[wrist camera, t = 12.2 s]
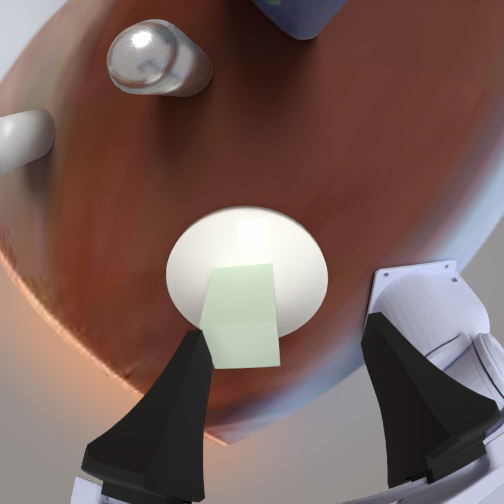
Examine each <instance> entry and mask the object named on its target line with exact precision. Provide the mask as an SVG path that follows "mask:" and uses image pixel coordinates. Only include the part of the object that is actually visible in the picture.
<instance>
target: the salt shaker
mask: <svg viewBox="0 0 504 504" xmlns="http://www.w3.org/2000/svg"><path fill="white" fill-rule="evenodd" d="M107 67H108V70H109V74H110V77H111V79H112V81H113V82H114V84H115V85H116V86H117V87H118V88H120V89H121V90H123V91H125V92H128V93H132V94H149V95H165V96H178V97H189V96H193V95H196V94H198V93H200V92H201V91H203V90H204V89H205V88H206V87H207V86H208V84H209V83H210V81H211V79H212V77H213V72H214V67H213V63H212V60H211V58H210V57H209V56H208V55H207V54H206V53H205V52H204V51H203V50H202V49H201V48H200V47H199V46H198V45H196V44H195V43H194V42H193V41H192V40H191V39H190V38H188V37H187V36H186V35H185V34H184V33H183V32H181V31H180V30H179V29H178V28H177V27H175V26H174V25H173V24H171V23H169V22H167V21H164V20H157V19H153V20H146V21H142V22H139V23H137V24H135V25H133V26H131V27H129V28H127V29H125V30H124V31H123V32H121V33H120V34H119V35H118V36H117V37H116V39H115V40H114V41H113V43H112V44H111V46H110V49H109V52H108V56H107Z"/></svg>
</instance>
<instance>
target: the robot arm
mask: <svg viewBox="0 0 504 504" xmlns="http://www.w3.org/2000/svg"><path fill="white" fill-rule="evenodd" d="M456 266H457V262H456V261H455V260H447V261H440V262H432V263H425V264H417V265H409V266H401V267H393V268H385V269H379V270H377V271H376V272H375V275H374V281H373V286H372V291H371V297H370V302H369V307H368V311H367V316H366V320H365V325H364V329H363V332H364V334H363V337H362V341H361V346H362V351H363V356H364V360H365V364H366V367H367V369H368V373H369V375H370V379H371V382H372V384H373V387H374V390H375V393H376V396H377V399H378V402H379V406H380V410H381V415H382V420H383V426H384V433H385V440H386V450H387V466H388V467H387V468H388V486H389V489H390V488H393V487H396V486H399V485H402V484H405V483H408V482H410V481H411V482H412V483H409V484H406V485H403V486H401V487H398V488H395V489H392V490H389V491H386V492H382V493H379V494H376V495H372V496H368V497H365V498H361V499H357V500H352V501H348V502H343V503H338V504H389V503H392V502H394V501H398V500H399V501H398V502H397V503H396V504H504V349H503V348H502V347H501V345H500V344H499V343H498V342H497V340H496V339H495V338H494V337H493V336H492V335H491V334H489V333H490V324H489V318H488V314H487V311H486V309H485V307H484V306H483V304H482V303H481V301H480V300H479V299H478V297H477V296H476V295H475V294H474V292H473V291H472V290H471V289H470V287H469V286H468V285H467V284H466V282H465V281H464V280H463V279H462V278H461V276H460V275H459V274H458V273H457V272H456V271H455V269H456ZM385 273H387V274H386V275H384V274H385ZM211 375H212V356H211V354H210V351H209V348H208V345H207V343H206V340H205V337H204V334H203V331H202V330H189V331H188V332H187V333H186V335H185V336H184V338H183V340H182V342H181V343H180V345H179V347H178V348H177V350H176V352H175V353H174V355H173V357H172V358H171V360H170V361H169V363H168V364H167V366H166V367H165V369H164V370H163V372H162V373H161V375H160V376H159V377H158V379H157V380H156V382H155V383H154V384H153V386H152V387H151V388H150V389H149V391H148V392H147V393H146V394H145V395H144V397H143V398H142V399H141V400H140V401H139V402H138V403H137V404H136V406H135V407H134V408H133V409H132V410H131V411H130V412H129V413H128V414H127V415H125V416H124V417H123V418H122V419H121V420H120V421H119V422H118V423H116V424H115V425H114V426H113V427H112V428H110V429H109V430H108V431H107V432H105V433H104V434H102V435H101V436H99V437H98V438H97V439H95V440H94V441H92V442H91V443H89V444H88V445H87V448H86V451H85V454H84V458H83V462H82V466H81V469H82V470H83V471H84V472H86V473H88V474H90V475H92V476H94V477H96V478H98V479H100V480H103V485H100V484H98V483H95V482H92V481H90V480H87V479H85V478H82V477H80V476H76V479H75V484H74V488H73V493H72V498H71V503H70V504H192V502H200V501H202V500H203V499H204V498H205V494H204V479H203V433H204V421H205V414H206V408H207V402H208V396H209V390H210V384H211Z"/></svg>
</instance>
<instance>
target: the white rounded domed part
mask: <svg viewBox="0 0 504 504" xmlns="http://www.w3.org/2000/svg"><path fill="white" fill-rule="evenodd" d="M54 138H55V124H54V120H53V118H52V116H51V114H50V113H49V112H48V111H47V110H45V109H35V110H30V111H26V112H21V113H17V114H13V115H9V116H5V117H1V118H0V175H4V174H6V173H8V172H10V171H12V170H14V169H16V168H18V167H20V166H22V165H24V164H26V163H29V162H31V161H33V160H35V159H38V158H40V157H43V156H44V155H46V154H47V153H48V152H49V151H50V149H51V147H52V145H53V142H54Z"/></svg>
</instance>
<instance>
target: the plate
mask: <svg viewBox="0 0 504 504" xmlns="http://www.w3.org/2000/svg"><path fill="white" fill-rule="evenodd" d="M266 263H272V264H273V275H274V286H275V298H276V310H277V324H278V338H279V337H282V336H284V335H287V334H289V333H291V332H293V331H295V330H297V329H298V328H299V327H301V326H302V325H304V324H305V323H306V322H307V321H308V320H310V319H311V317H312V316H313V315H314V314H315V313H316V312H317V310H318V309H319V307H320V306H321V304H322V301H323V299H324V297H325V294H326V290H327V284H328V273H327V267H326V263H325V260H324V258H323V255H322V252H321V250H320V247H319V245H318V244H317V242H316V240H315V239H314V237H313V236H312V235H311V234H310V232H309V231H308V230H307V229H306V228H305V227H303V226H302V225H301V224H300V223H299V222H297V221H296V220H294V219H293V218H291V217H289V216H287V215H285V214H283V213H281V212H278V211H275V210H273V209H269V208H264V207H259V206H233V207H227V208H222V209H219V210H216V211H213V212H211V213H208V214H206V215H204V216H202V217H201V218H199V219H198V220H196V221H195V222H193V223H192V224H191V225H190V226H189V227H188V228H187V229H186V230H185V231H184V232H183V233H182V234H181V236H180V237H179V239H178V241H177V242H176V244H175V246H174V248H173V250H172V252H171V254H170V257H169V259H168V264H167V268H166V280H167V287H168V290H169V294H170V296H171V298H172V301H173V302H174V304H175V306H176V307H177V309H178V310H179V311H180V312H181V314H182V315H183V316H184V317H185V318H186V319H187V320H188V321H190V322H191V323H192V324H193V325H195V326H196V327H198V328H199V329H200V326H199V324H200V319H201V315H202V311H203V306H204V302H205V298H206V294H207V290H208V285H209V281H210V277H211V273H212V269H213V268H220V267H232V266H244V265H255V264H266Z"/></svg>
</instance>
